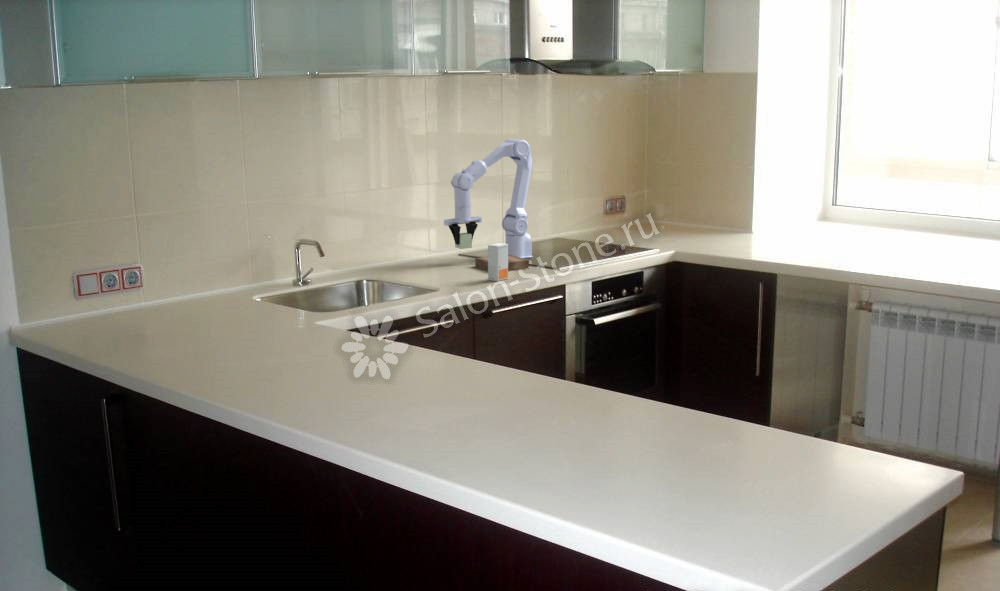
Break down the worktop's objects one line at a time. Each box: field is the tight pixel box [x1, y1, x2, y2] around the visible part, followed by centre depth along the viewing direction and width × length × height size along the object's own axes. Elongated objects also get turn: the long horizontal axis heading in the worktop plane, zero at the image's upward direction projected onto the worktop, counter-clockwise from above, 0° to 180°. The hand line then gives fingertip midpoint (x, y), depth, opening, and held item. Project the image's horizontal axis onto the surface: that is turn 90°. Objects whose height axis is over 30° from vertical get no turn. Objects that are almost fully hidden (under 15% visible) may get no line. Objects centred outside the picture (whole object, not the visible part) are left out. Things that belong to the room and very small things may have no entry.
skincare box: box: [487, 242, 509, 282], centre depth 334 cm, size 6×4×12 cm
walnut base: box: [474, 254, 530, 272], centre depth 356 cm, size 14×14×3 cm
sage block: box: [454, 232, 473, 250], centre depth 362 cm, size 4×4×5 cm
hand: (463, 243), depth 363 cm, fingers closed on sage block, 4 cm apart
